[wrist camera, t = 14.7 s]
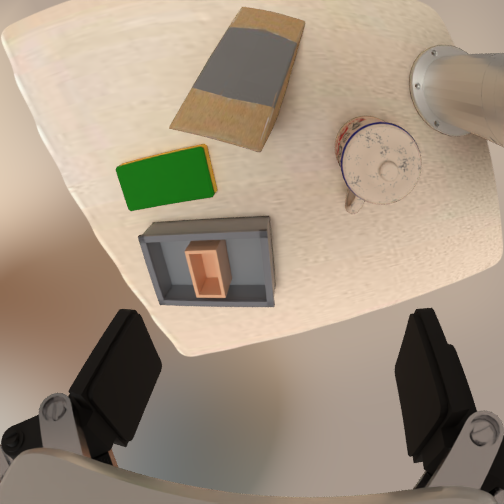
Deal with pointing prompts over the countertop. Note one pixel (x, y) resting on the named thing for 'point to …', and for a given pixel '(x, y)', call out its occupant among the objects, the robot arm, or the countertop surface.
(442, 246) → the countertop surface
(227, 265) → the box
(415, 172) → the teacup with lid
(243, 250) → the big crate
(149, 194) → the dish sponge
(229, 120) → the sandwich container
